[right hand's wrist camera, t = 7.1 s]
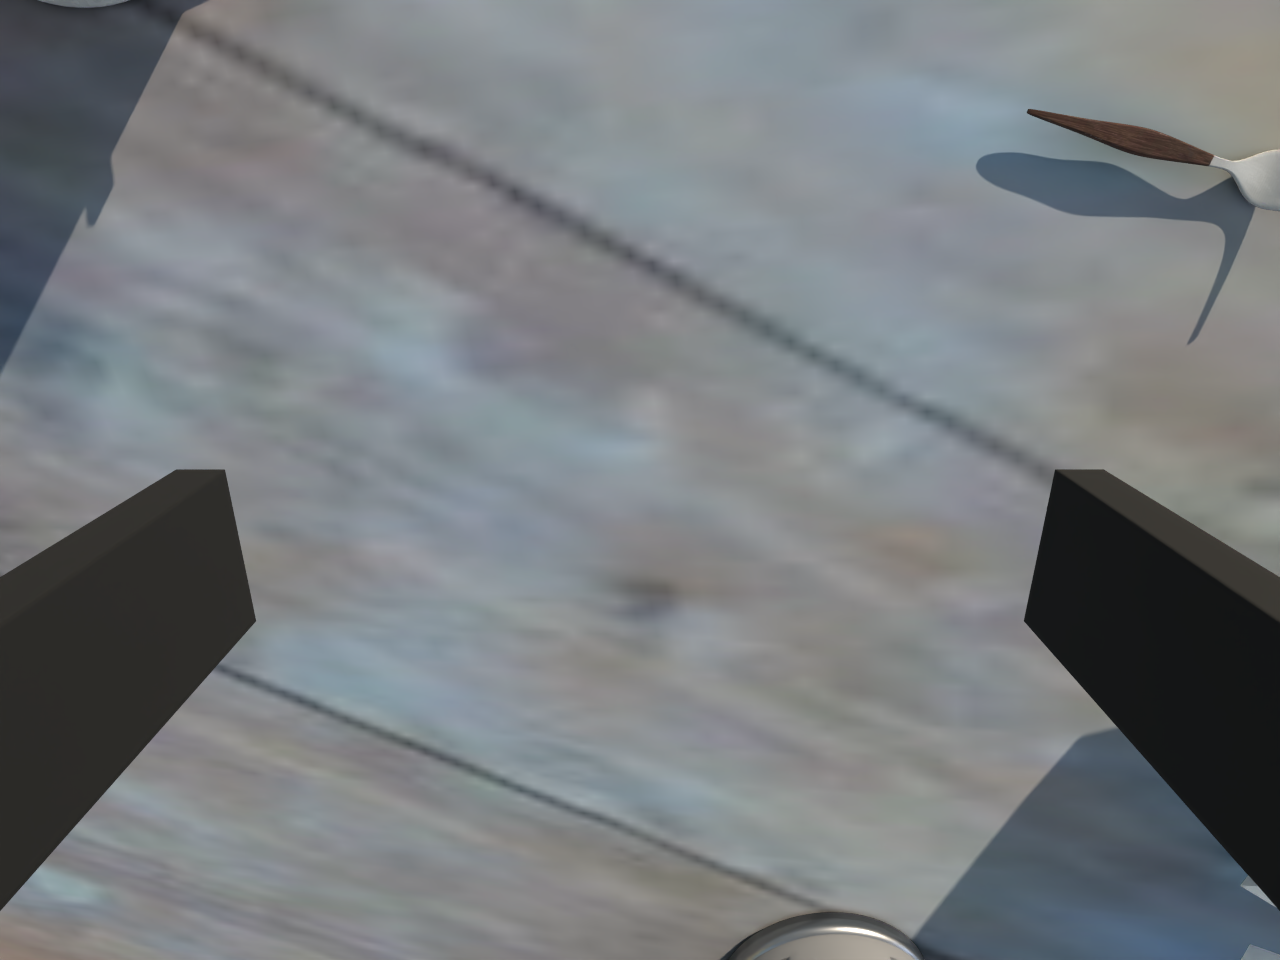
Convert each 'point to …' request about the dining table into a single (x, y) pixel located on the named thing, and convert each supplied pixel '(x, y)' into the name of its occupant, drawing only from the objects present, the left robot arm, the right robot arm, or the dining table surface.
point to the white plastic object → (1254, 956)
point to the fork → (1182, 154)
